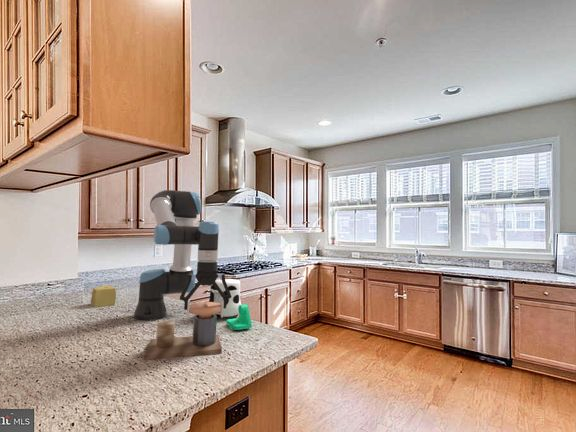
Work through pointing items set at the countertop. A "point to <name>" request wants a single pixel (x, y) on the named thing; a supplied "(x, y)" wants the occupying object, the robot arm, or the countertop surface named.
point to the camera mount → (241, 319)
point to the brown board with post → (176, 344)
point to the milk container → (231, 303)
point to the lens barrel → (204, 331)
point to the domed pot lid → (205, 309)
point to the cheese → (103, 296)
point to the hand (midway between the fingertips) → (205, 317)
